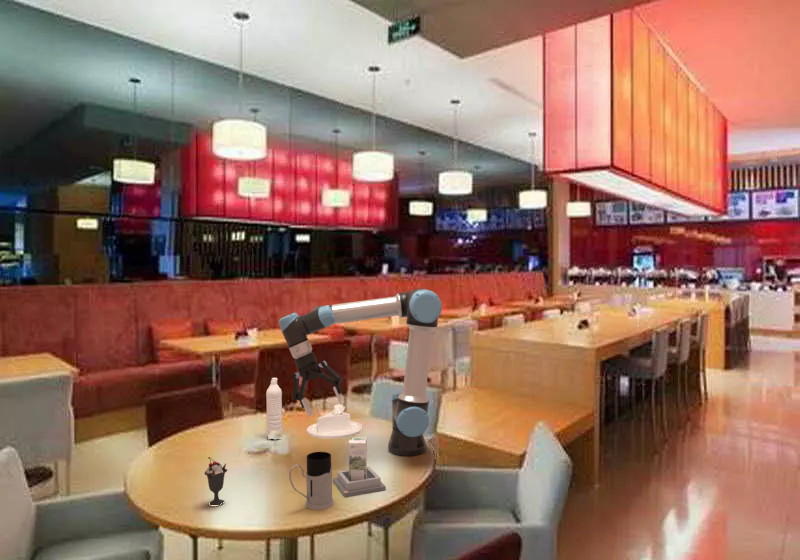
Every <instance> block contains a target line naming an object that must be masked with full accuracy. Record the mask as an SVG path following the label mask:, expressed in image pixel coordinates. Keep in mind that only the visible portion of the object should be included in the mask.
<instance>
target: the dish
mask: <svg viewBox="0 0 800 560" xmlns="http://www.w3.org/2000/svg"><path fill="white" fill-rule="evenodd" d="M333 408H334V409H333V410H332V411H330V412H329V413H328V412H327V413H326V414H323V415H321V416H319V417H317V419H316V420H317V422H315V423H312V424H311V425H309V426H307V428H306V433H307V434H308V436H311V437H314V438H318V439H323V440H324V439H329V440H331V439H332V440H333V439H344V438H351V437H353V435H354V436H356V434H357V435H359V434H360V433H361V431H362V432H363V425H362V424H361V423H360V422H357V421H353V420H351V414H349V413H347V412H345V409H346V405H345V406H344V405H343V404H340V403H338V404H335V405H333ZM350 436H351V437H350Z"/></svg>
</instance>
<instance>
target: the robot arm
mask: <svg viewBox="0 0 800 560" xmlns="http://www.w3.org/2000/svg"><path fill="white" fill-rule="evenodd" d="M442 308H443V307H442V301H441V299H440V297H439V295H438V294H437V293H435V292H434V291H432V290H429V289H425V288H416V289H413V290H408V291H404V292H398V293H396V295H395V296H388V297H387V296H386V297H380V298H372V299H366V300H359V301H352V302H343V303H335V304H330V305H328V304H327V305H317V306H314V307H313V308H312V309H311V311H310V312H307V313H305V314H303V315H298V313H297V312H293V313H291V314H287V315H286V316H284V317H281V318H280V319H279V321H278V325H279V328H280V331H281V333H282V336H283V338H284V341H286V345H287V347H288V350H289V351H290V354H291V356H292V358H293V359H294V363H295V366H296V368H297V369H298V372H294V373H292V374H291V376H292V381H293V382H292V383H293V385H292V387H293V388H292V400H293V401H298V402H299V404H300V406H301V408H302V409H304V410H305V413H306V415H307V417H311V416H312V415H313V410H312V408H311V406H310V403H309V401H308V399H307V397H305V393H306V390H307V387H308V382H309V381H312V380H314V379H317V378H319V379H322V380H324V381H326V382H327V383H329V384H331V386H332V385H333V387H332V389H333V392H334V393H335V396H336V398H337V401H338V404H341V405H343V403H344V402H345V399H344V397H343V395H342V393H343V389H342V386H341V383H342V382H343V381H344V378H343V377H342V376H341V375H340V374H338V373H337V372H336V370H334V369H333V368H332V366H330V365H329V364H328V362H327V360H323V361H321V362H320V363H319V362H318V359H317V357H316V354H315V352H313V351H312V350H313V347H312V345H311V343H310V340H309V338H308V336H309V335H312V334H313V333H316V332H319V331H321V330H323V329H326V328H329V327H330V326H333V325H336V324H337V325H338V324H343V323H351V322H358V321H366V320H373V319H381V318H389V317H397V316H398V317H399V318H406V322H405V324H406V326H407V327H408V328H409V333H408V341H407V342H408V343H407V352H406V360H405V361H406V362H405V368H404V377H403V378H404V379H403V388H402V391H397V392H394V393H392V396H391V407H392V408H391V409H392V410H391V411H392V412H391V413H392V414H391V415H392V416H391V421H392V424H391V425H392V427H391V428H392V430H391V435H390V437H389V442H388V444H387V451H388V450H389V451H388V452H389V453H390V452H391V453H390V454H392V453H393V454H392V455H395V454H396V455H397V456H401V455H404V456H405V457H406V456H408V457H409V456H410V455H413V456H417V455H421V454H424V453H425V452H426V451H427V443H426V442H427V441H426V440H425V436H424V434H425V432H426V431H427V430H428V428H429V425H430V417H429V414H428V413H429V403H430V399H429V398H428V397H427V386H428V385H427V384H428V376H429V368H430V367H429V366H430V358H431V357H430V356H431V349H432V348H431V347H432V340H433V332H434V331H435V330H436V329H437V328H438V325H439V317H440V315H441V312H442ZM321 369H323V370H324V371H326V373H327V374H326V373H325V372H324V371H323V370H321ZM300 377H301V378H302V379H301V385H300ZM396 455H395V456H396ZM404 456H403V457H404Z"/></svg>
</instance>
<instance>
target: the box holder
mask: <svg viewBox="0 0 800 560" xmlns="http://www.w3.org/2000/svg"><path fill="white" fill-rule="evenodd" d="M332 483H333V484H334V485H335V486H336V488H337V489H338V490H339V492H340V493H341V494H342V496H343V497H344V498H348V497H353V496H360V495H364V494H372V493H376V492H383V491H386V489H387V487H386V485H385V484H384V483H383V481H381V477H380V476H379V475H378V474H377V473H376V472H375V471H374V469H372V468H371V467H370V466H367V479H363V480H357V481H351V482H350V481H349V469H346V470H340V471H337V477H332Z"/></svg>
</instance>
